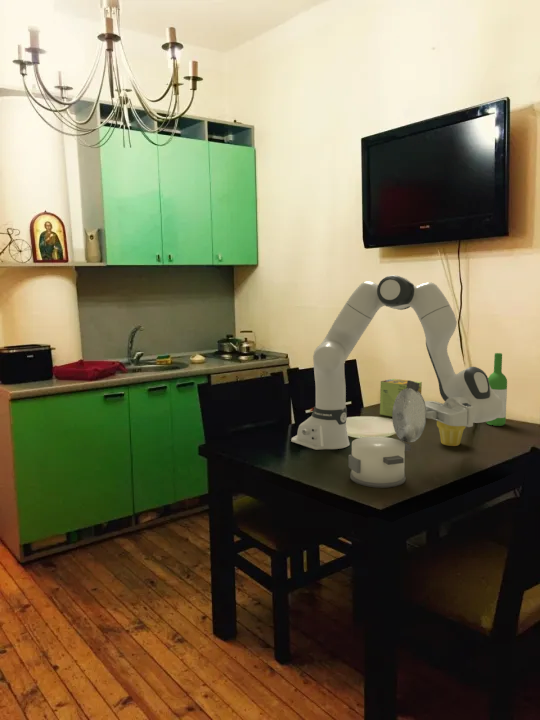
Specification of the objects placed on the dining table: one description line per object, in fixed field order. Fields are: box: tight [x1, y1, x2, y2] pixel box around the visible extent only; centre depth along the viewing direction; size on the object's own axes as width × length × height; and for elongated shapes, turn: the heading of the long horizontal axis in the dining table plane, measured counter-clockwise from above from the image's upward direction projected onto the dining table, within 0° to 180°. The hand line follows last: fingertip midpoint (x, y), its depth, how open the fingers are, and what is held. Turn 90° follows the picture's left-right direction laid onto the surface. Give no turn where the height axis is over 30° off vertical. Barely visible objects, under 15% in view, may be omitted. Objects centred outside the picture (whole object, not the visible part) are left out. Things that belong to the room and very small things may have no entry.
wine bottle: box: [485, 352, 508, 427], centre depth 240 cm, size 8×8×30 cm
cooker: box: [348, 436, 412, 489], centre depth 178 cm, size 18×21×11 cm
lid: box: [391, 379, 427, 443], centre depth 179 cm, size 19×17×2 cm
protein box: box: [379, 378, 423, 417], centre depth 260 cm, size 10×15×16 cm
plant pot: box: [436, 420, 467, 447], centre depth 214 cm, size 10×10×10 cm
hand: (418, 414), depth 180 cm, fingers closed
